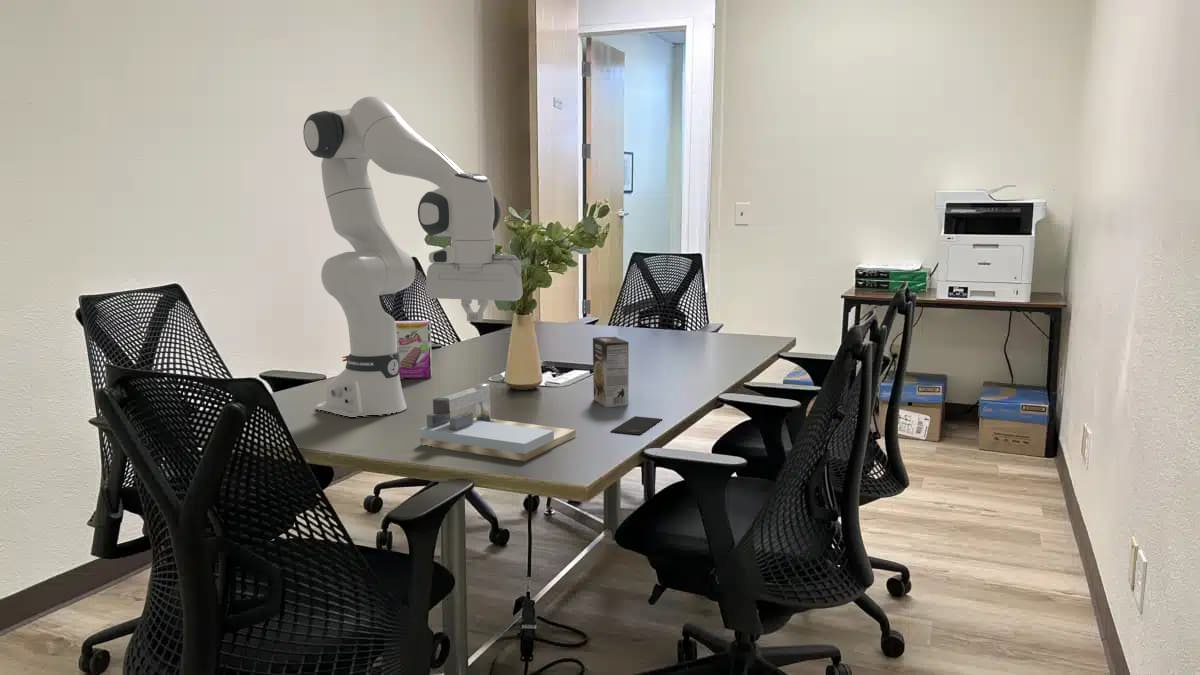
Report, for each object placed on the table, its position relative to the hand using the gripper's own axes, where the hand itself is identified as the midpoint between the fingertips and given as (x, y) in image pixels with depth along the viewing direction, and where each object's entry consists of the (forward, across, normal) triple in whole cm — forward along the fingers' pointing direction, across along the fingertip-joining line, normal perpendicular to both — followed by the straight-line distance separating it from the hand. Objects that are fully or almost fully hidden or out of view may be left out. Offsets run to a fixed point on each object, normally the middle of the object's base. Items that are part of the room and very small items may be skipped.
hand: (475, 321), depth 182 cm
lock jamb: (+26, -4, -3) cm, 26 cm away
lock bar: (+24, +6, -5) cm, 25 cm away
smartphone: (+26, -29, -22) cm, 45 cm away
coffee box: (+26, -17, -43) cm, 53 cm away
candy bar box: (+27, +47, -60) cm, 81 cm away
